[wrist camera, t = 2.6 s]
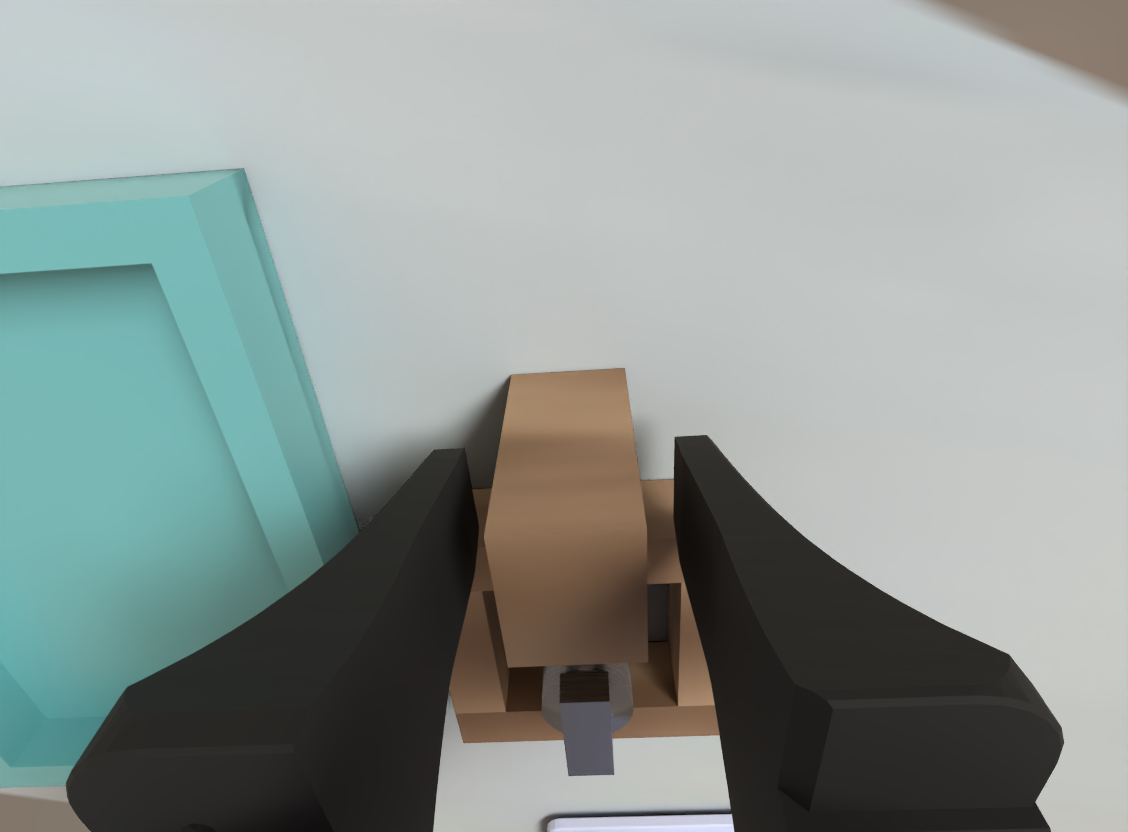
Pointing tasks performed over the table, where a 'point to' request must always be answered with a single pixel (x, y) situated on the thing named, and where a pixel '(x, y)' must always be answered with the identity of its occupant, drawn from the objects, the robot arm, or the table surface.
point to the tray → (143, 446)
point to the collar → (574, 569)
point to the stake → (588, 712)
